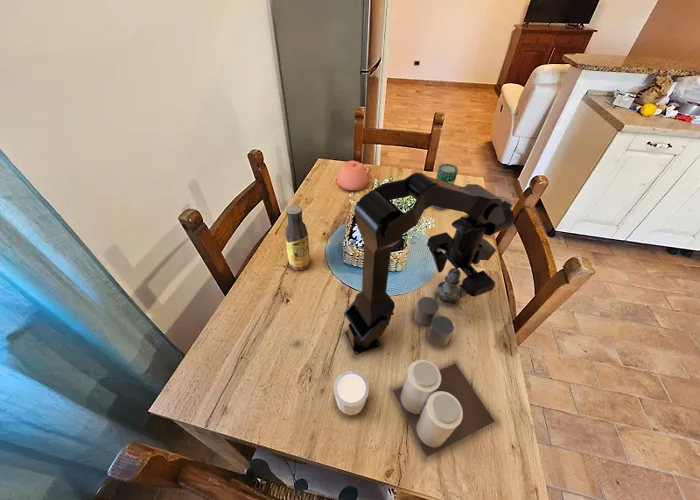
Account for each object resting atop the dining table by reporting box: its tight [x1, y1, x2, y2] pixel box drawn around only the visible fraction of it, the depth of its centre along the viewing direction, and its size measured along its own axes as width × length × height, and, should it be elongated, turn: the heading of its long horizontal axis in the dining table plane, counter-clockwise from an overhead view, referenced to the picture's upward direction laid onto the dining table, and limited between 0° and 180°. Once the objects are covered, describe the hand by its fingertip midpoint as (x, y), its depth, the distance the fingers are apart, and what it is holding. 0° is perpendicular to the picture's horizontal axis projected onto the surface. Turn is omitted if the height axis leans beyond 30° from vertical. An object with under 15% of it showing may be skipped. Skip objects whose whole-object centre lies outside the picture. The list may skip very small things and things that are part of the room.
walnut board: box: [392, 363, 496, 458], centre depth 63 cm, size 16×13×1 cm
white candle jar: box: [333, 370, 370, 416], centre depth 62 cm, size 7×7×7 cm
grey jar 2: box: [426, 315, 455, 348], centre depth 73 cm, size 5×5×6 cm
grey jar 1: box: [413, 296, 440, 327], centre depth 77 cm, size 5×5×6 cm
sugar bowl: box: [336, 160, 373, 191], centre depth 120 cm, size 12×14×10 cm
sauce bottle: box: [284, 204, 311, 271], centre depth 85 cm, size 7×6×20 cm
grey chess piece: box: [435, 267, 462, 307], centre depth 79 cm, size 6×6×12 cm
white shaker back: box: [401, 359, 441, 414], centre depth 60 cm, size 6×6×12 cm
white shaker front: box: [416, 391, 463, 447], centre depth 56 cm, size 6×6×12 cm
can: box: [432, 163, 459, 211], centre depth 109 cm, size 6×6×15 cm
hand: (450, 284), depth 79 cm, fingers open, 9 cm apart
